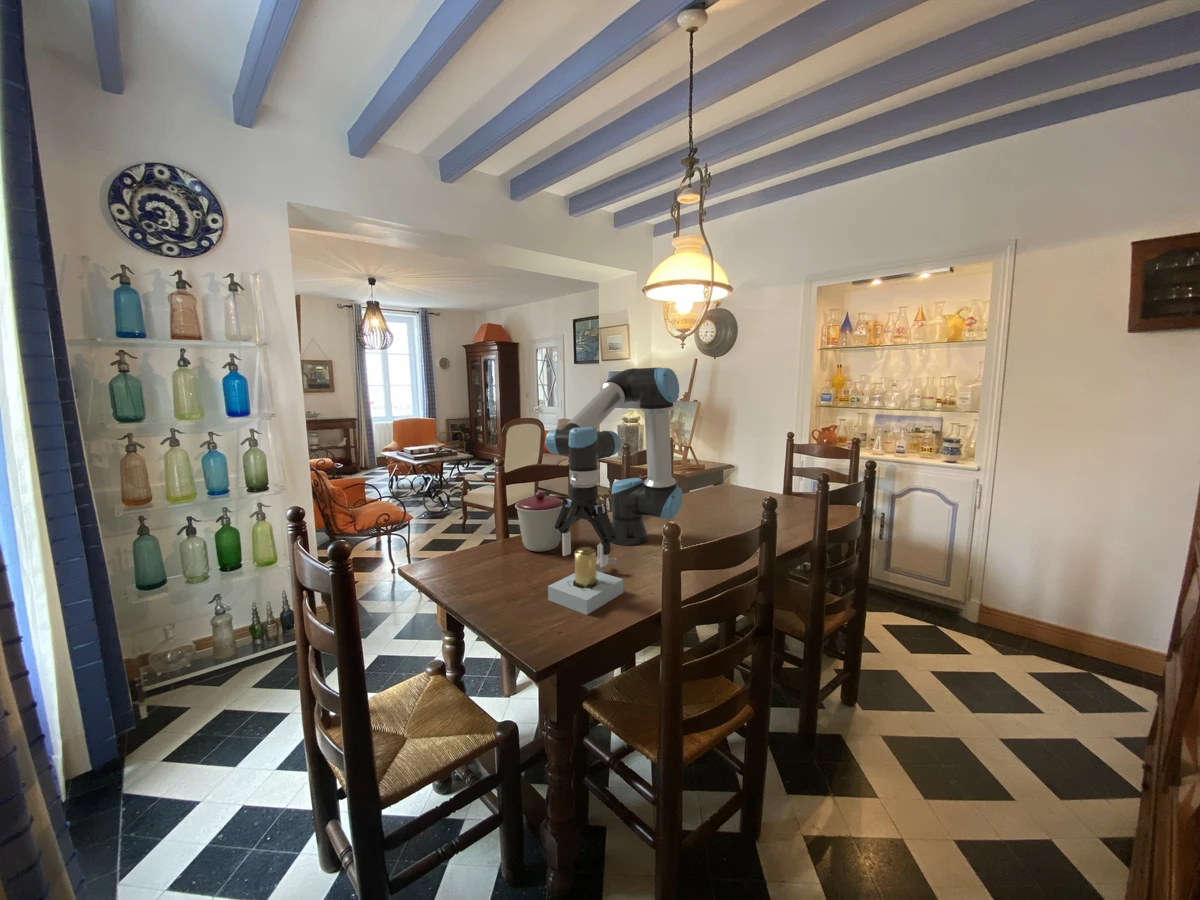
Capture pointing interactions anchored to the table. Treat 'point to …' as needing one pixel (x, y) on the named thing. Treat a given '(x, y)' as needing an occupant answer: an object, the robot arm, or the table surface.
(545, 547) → the canister
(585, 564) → the gold metal cylinder
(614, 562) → the pipe connector
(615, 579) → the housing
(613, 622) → the table surface
